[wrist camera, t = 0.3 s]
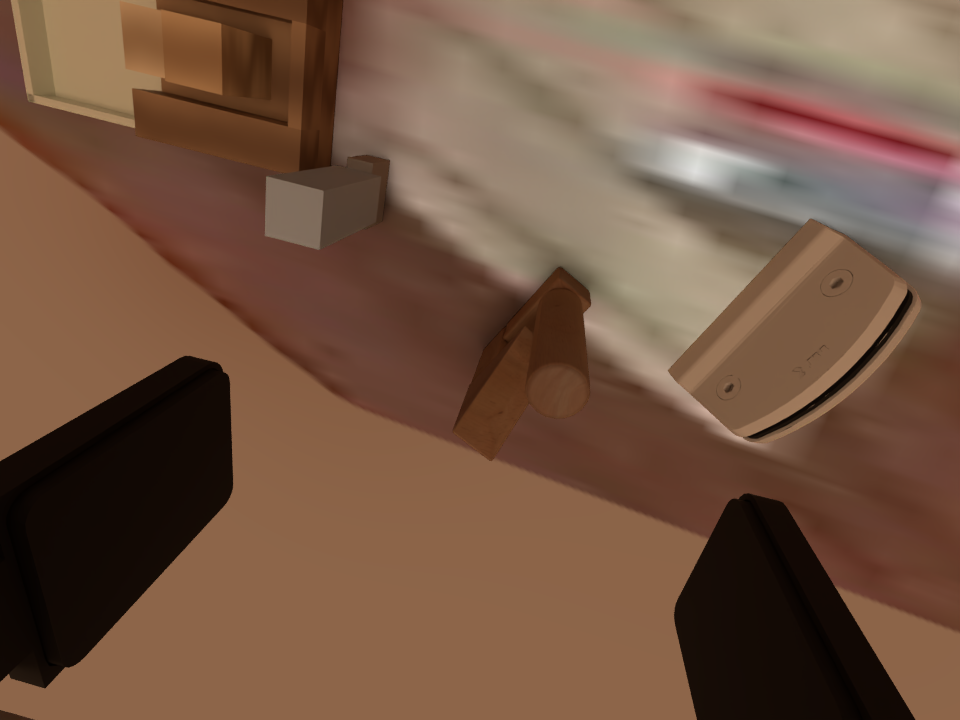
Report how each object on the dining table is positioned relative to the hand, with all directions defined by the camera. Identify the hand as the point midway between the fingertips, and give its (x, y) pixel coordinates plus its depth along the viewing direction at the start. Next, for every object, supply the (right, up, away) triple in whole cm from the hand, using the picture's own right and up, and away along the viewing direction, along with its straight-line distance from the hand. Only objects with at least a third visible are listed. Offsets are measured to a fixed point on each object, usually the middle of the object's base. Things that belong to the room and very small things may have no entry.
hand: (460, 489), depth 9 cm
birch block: (-21, +26, +28) cm, 44 cm away
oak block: (-17, +25, +28) cm, 41 cm away
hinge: (+25, +5, +33) cm, 41 cm away
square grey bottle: (-9, +17, +33) cm, 38 cm away
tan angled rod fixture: (+5, +6, +36) cm, 37 cm away
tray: (-29, +29, +31) cm, 51 cm away
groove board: (-17, +26, +30) cm, 43 cm away
